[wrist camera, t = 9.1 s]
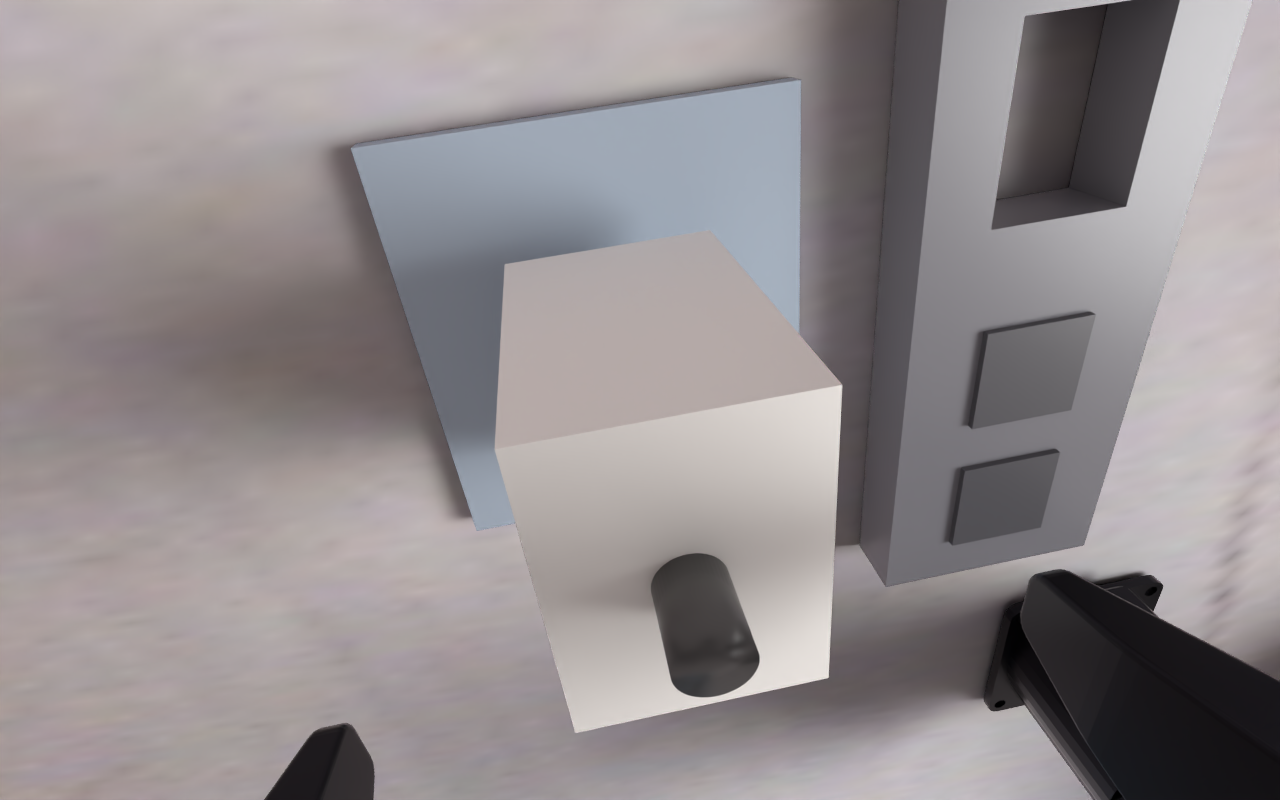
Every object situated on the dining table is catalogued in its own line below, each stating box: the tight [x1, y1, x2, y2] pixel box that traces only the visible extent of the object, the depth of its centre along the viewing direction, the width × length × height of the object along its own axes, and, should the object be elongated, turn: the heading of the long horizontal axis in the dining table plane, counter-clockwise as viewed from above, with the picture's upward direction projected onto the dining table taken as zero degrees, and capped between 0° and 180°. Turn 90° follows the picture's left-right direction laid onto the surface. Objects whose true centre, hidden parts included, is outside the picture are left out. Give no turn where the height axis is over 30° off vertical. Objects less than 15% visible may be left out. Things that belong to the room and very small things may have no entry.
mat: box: [351, 78, 801, 531], centre depth 18 cm, size 11×10×1 cm
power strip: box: [860, 0, 1253, 587], centre depth 17 cm, size 24×7×3 cm, turn 7°
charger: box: [495, 230, 842, 733], centre depth 13 cm, size 6×4×10 cm
